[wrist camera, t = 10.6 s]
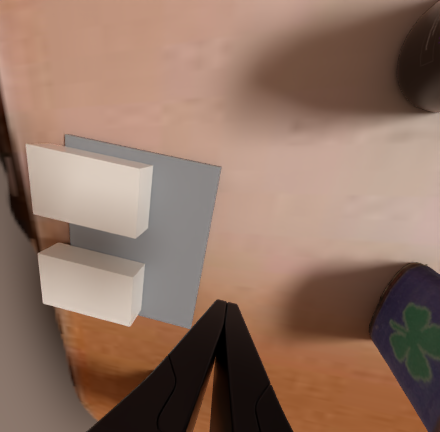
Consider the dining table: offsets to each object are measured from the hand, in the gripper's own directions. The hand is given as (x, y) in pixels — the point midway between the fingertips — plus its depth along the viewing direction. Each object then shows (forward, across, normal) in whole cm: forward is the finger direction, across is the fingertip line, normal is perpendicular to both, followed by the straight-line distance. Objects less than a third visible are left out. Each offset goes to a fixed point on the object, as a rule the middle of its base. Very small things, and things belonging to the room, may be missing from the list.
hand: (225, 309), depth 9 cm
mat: (+12, +10, +5) cm, 16 cm away
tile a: (+10, +8, +10) cm, 16 cm away
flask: (+12, -16, +5) cm, 21 cm away
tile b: (+10, +8, 0) cm, 13 cm away
